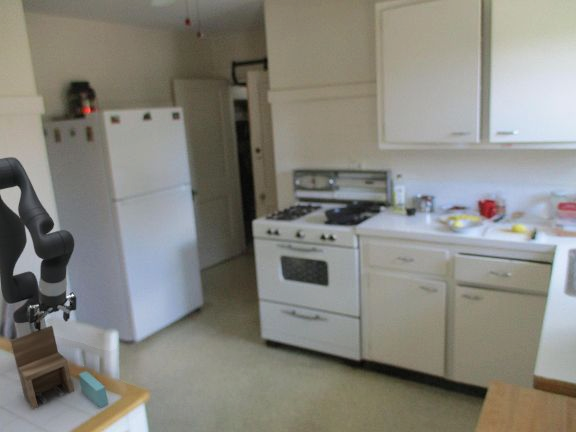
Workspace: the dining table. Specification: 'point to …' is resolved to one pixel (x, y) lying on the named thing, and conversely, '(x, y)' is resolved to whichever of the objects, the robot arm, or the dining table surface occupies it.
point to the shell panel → (93, 389)
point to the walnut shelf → (40, 365)
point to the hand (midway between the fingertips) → (51, 323)
